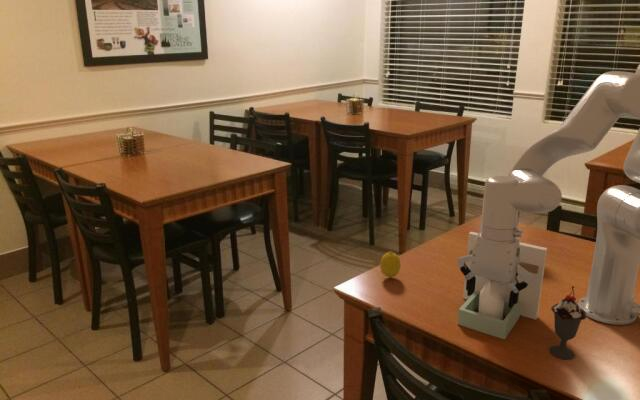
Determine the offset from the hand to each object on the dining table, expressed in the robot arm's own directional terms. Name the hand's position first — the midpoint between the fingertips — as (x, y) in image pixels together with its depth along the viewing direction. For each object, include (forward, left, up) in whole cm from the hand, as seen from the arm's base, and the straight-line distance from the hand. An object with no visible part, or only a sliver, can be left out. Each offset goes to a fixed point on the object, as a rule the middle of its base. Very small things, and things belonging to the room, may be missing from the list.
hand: (490, 299), depth 122 cm
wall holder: (0, -2, -6) cm, 6 cm away
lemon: (+30, -6, -6) cm, 31 cm away
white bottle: (0, 0, -6) cm, 6 cm away
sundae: (-17, +4, -6) cm, 18 cm away
